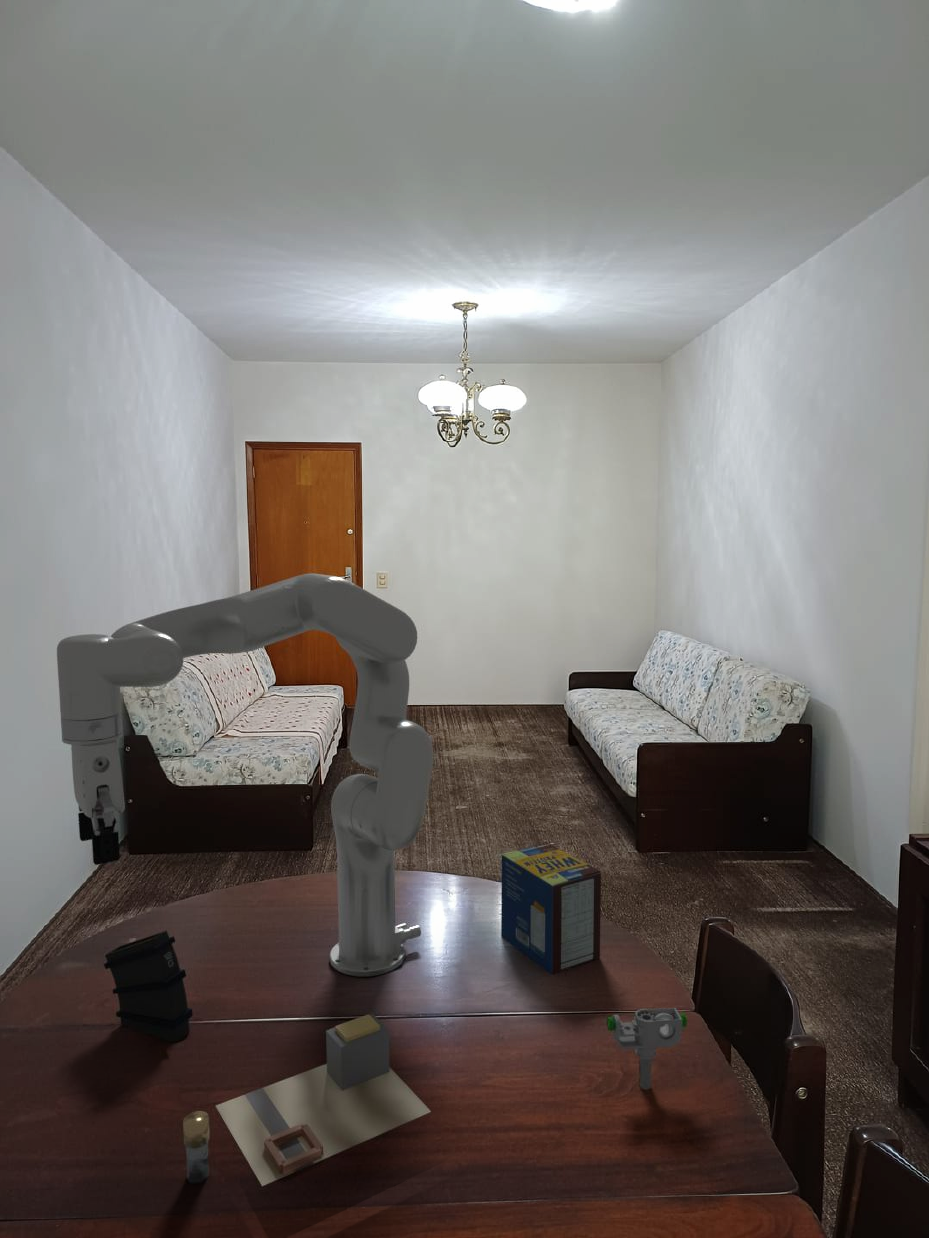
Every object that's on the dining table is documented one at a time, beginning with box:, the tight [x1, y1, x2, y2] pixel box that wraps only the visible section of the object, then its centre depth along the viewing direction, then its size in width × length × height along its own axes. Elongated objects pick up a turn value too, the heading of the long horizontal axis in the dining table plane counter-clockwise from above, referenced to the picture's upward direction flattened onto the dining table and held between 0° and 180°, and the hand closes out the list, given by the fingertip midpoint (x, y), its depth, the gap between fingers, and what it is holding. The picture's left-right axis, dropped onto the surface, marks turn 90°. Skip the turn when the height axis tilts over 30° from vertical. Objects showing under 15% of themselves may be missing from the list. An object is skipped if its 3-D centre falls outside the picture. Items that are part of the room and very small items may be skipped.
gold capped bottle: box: [182, 1110, 211, 1184], centre depth 102 cm, size 3×3×7 cm
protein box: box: [500, 842, 602, 975], centre depth 154 cm, size 10×15×16 cm
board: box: [215, 1063, 432, 1187], centre depth 112 cm, size 22×16×2 cm
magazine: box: [103, 930, 193, 1044], centre depth 130 cm, size 4×13×15 cm, turn 64°
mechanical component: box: [606, 1007, 688, 1091], centre depth 117 cm, size 3×10×10 cm, turn 95°
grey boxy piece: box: [325, 1013, 391, 1091], centre depth 118 cm, size 7×4×7 cm, turn 124°
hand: (99, 849), depth 121 cm, fingers open, 9 cm apart
